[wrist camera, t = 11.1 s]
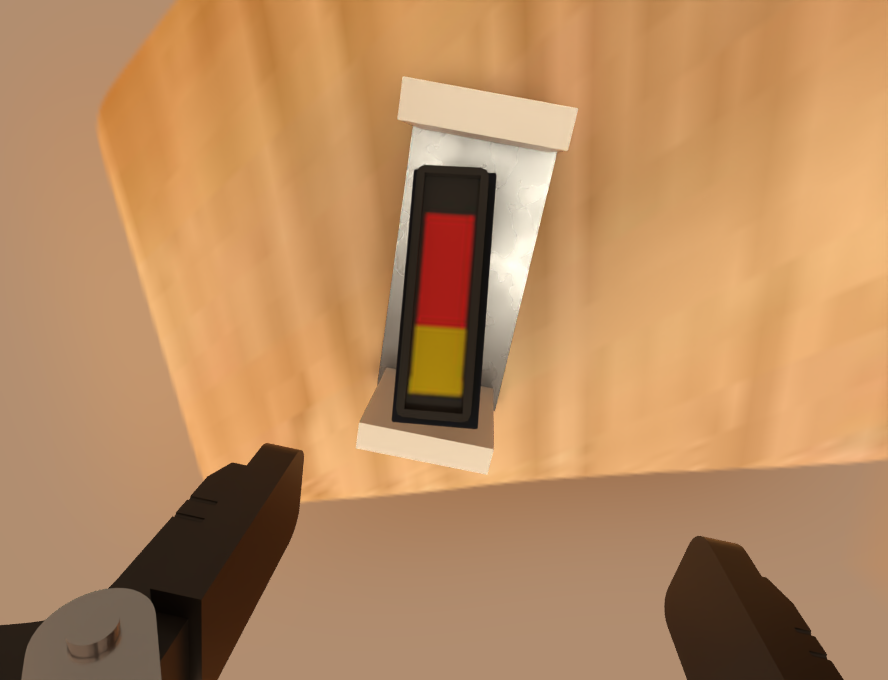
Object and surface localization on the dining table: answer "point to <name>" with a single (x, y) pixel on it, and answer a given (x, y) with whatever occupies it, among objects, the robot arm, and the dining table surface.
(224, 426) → the dining table surface
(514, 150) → the rail plate
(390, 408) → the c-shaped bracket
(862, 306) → the dining table surface
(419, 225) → the magazine
